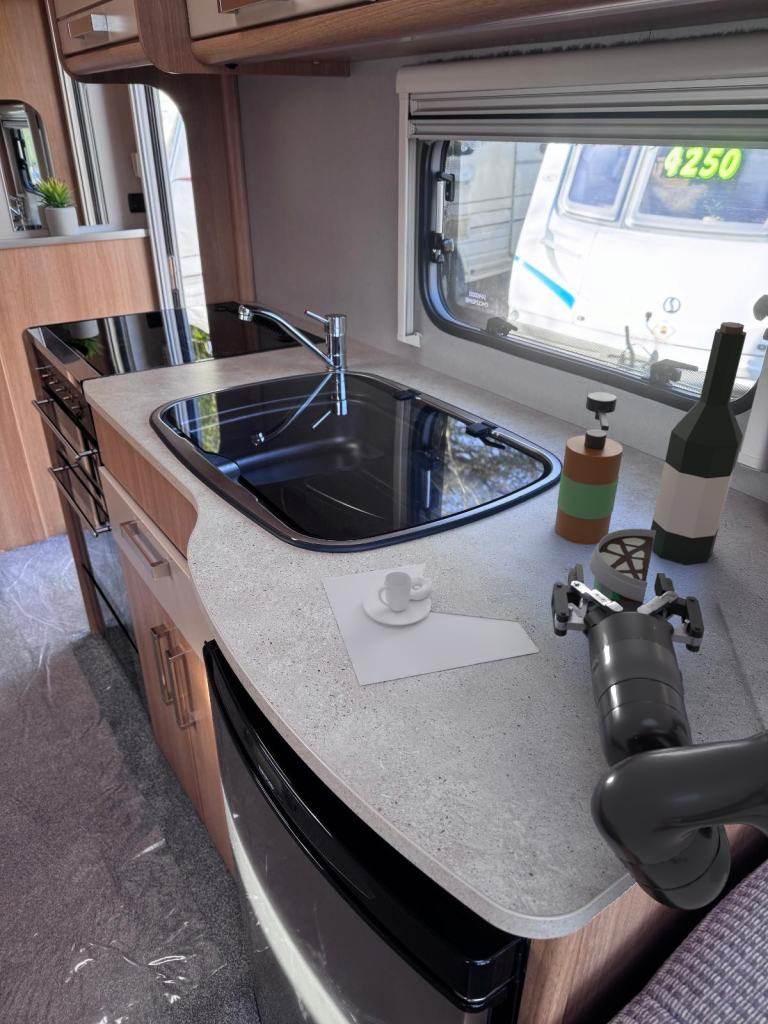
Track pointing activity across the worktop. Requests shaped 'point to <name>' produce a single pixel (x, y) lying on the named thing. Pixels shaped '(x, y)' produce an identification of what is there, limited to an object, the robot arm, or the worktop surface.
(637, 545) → the food container
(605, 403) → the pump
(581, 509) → the pump bottle
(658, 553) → the wine bottle
